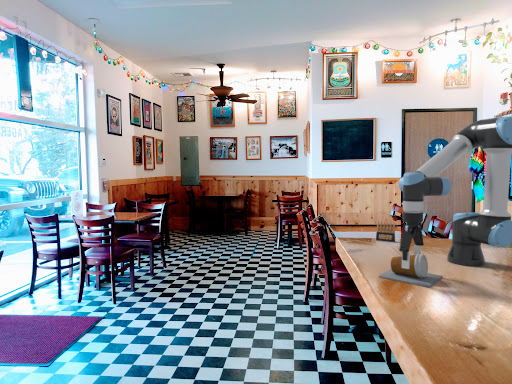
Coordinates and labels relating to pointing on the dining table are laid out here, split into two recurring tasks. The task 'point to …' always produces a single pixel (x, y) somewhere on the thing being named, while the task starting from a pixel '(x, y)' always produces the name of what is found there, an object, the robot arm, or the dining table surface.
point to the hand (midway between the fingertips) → (411, 264)
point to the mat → (412, 278)
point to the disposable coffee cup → (411, 265)
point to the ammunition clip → (386, 232)
